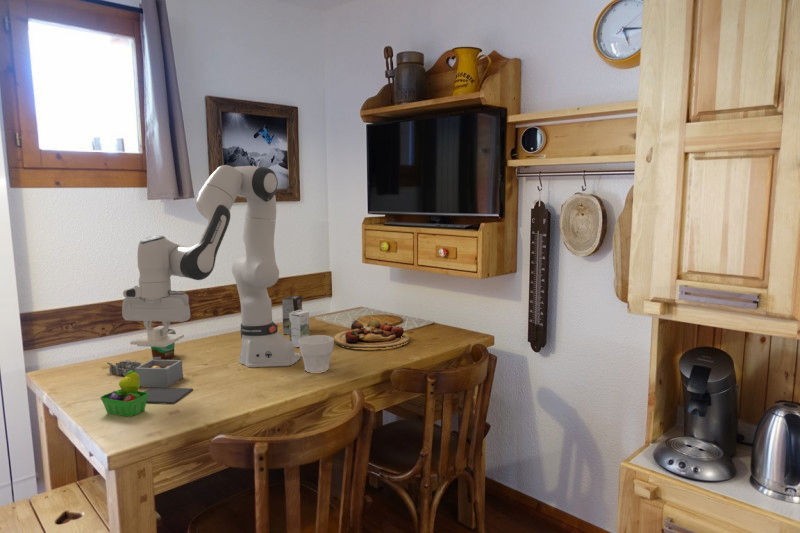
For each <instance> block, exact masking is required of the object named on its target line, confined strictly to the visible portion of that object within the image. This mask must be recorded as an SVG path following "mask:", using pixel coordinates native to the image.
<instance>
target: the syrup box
mask: <svg viewBox="0 0 800 533" xmlns="http://www.w3.org/2000/svg"><path fill="white" fill-rule="evenodd" d="M289 321H290V335H289V340H290V341H291V342H292V344H293V347H299V342H298V340H299V339H300V338H302V337H306V336H310V312H309V311H308V310H304V309H302V310H297V311H294V312H290V313H289Z"/></svg>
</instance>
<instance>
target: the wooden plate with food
mask: <svg viewBox="0 0 800 533" xmlns="http://www.w3.org/2000/svg"><path fill="white" fill-rule="evenodd" d="M404 332H405V331H404V328H403V327H402V326H397V325H395V324H388V322H382V323H381V322H380V321H379V320H377V319H375V318H374V319H372V320H370V321H369V322H368V323H367V326H365V327H364V324H363V322H362V321H361V320H359V319H358V318H357V319H355V320H353V321H352V323H351V325H350V329H349V330H344V331H341V332H339V333H336V334H335V335H334V336H333V338H334V342H335V343H336V344H335V343H334V344H335V345H337V344H338V345H340V346H344V347H349V348H386V347H393V346H397V345H401V344H404V343H406V342H408V341H409V339H411V338H410V336H409V335H408V334H407V333H406V332H405V333H404ZM401 336H402V337H403V339H402V340H400V339H401ZM399 340H400V341H399ZM409 342H410V341H409ZM409 342H408V343H409ZM338 345H337V346H338ZM340 346H339V347H340ZM344 347H343V348H344Z"/></svg>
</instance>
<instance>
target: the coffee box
mask: <svg viewBox="0 0 800 533" xmlns="http://www.w3.org/2000/svg"><path fill="white" fill-rule="evenodd" d="M302 298H303V296H302V295H287V296H286V297H283V298H282V299H281V301H282V302H281V304H282V305H281V306H282V335H284V334H290V321H289V313H290V312H294V311H297V310H303V299H302Z"/></svg>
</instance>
